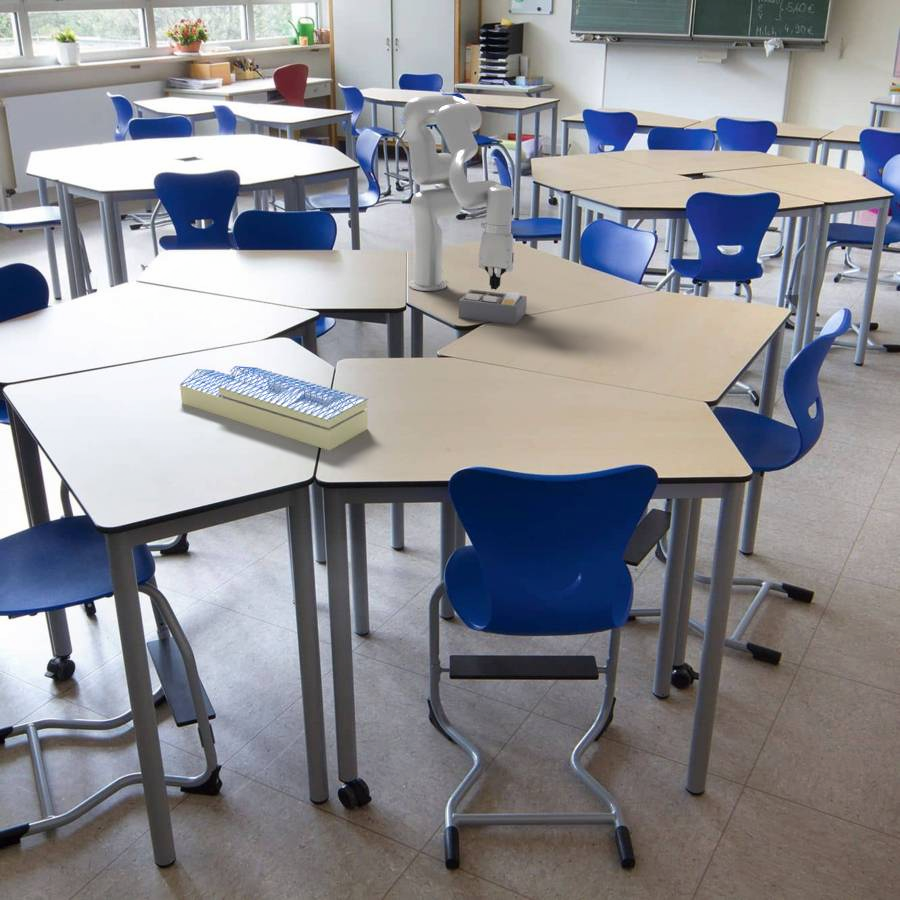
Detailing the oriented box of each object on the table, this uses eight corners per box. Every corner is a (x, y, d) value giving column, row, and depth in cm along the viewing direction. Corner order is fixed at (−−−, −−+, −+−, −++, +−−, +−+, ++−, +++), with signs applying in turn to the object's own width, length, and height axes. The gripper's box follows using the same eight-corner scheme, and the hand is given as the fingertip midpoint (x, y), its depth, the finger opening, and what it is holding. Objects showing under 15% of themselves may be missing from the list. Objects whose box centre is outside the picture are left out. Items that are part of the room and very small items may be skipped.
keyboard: (369, 429, 224) (368, 387, 219) (327, 452, 213) (326, 409, 208) (224, 386, 245) (221, 347, 241) (180, 405, 234) (176, 364, 229)
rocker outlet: (507, 296, 301) (507, 291, 300) (520, 297, 300) (520, 292, 299) (500, 309, 295) (500, 304, 294) (513, 311, 294) (513, 306, 293)
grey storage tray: (470, 306, 308) (470, 289, 306) (525, 313, 304) (526, 296, 301) (458, 317, 298) (459, 300, 296) (515, 324, 293) (516, 307, 291)
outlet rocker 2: (490, 300, 303) (490, 295, 303) (502, 302, 302) (503, 296, 302) (483, 300, 296) (483, 295, 295) (495, 302, 295) (496, 296, 294)
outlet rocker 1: (473, 298, 305) (473, 293, 304) (485, 300, 304) (486, 294, 303) (465, 299, 297) (466, 293, 297) (478, 300, 296) (478, 294, 296)
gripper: (470, 228, 291) (467, 288, 299) (519, 234, 287) (514, 295, 295) (477, 223, 297) (474, 281, 305) (525, 228, 293) (521, 288, 301)
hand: (494, 288), depth 300 cm, fingers closed
